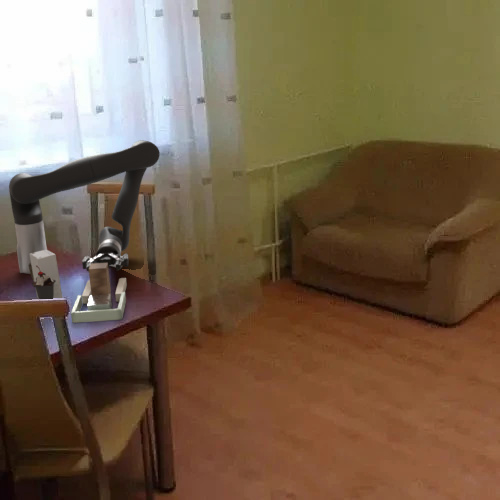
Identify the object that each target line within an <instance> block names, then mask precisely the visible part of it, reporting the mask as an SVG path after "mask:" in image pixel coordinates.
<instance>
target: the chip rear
mask: <svg viewBox="0 0 500 500" xmlns="http://www.w3.org/2000/svg"><path fill="white" fill-rule="evenodd" d="M111 298H112V293H111V294H105V295H91V296H90V297H89V300H102V299H110V304H111V308H112V305H113V304H112V301H111ZM89 300H88V302H89Z"/></svg>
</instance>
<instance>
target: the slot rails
mask: <svg viewBox="0 0 500 500" xmlns="http://www.w3.org/2000/svg"><path fill="white" fill-rule="evenodd" d="M127 285H128V284H127V278H126V277H121V278H119V279H118V283H117V286H116V290H115V294H114V295H115V302H118V303H119V301H120V297H121V293H122V292H125V293H126V289H127ZM91 295H92V294H91V285H90V279H88V280H87V281H86V284H85V287H84V290H83V292H82V294H81V296H82V305H85V304H86V305H88V300H89V297H90V296H91Z"/></svg>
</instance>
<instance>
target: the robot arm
mask: <svg viewBox="0 0 500 500" xmlns="http://www.w3.org/2000/svg"><path fill="white" fill-rule="evenodd" d="M160 155H161V153H160V149H159V147H158V146H157V145H156V144H154V143H153V142H151V141H149V140H141V139H140V140H137V141H135V142H134V143H133V144H132V145H131V146H130V147H127V148H125V149H122V150H119V151H115V152H114V151H113V152H105V153H98V154H97V153H96V154H93V155H88V156H84V157H81V158H77V159H75V160H72V161H69V162H67V163H66V164H64V165H61V166H59V167H58V168H55V169H54V170H52V171H49V172H46V173H41V174H37V175H31V174H28V173H26V172H25V173H24V172H22V173H21V172H20V173H17V174H15V175H14V176H12V177H11V179H10V181H9V185H8V192H9V196H10V197H9V198H10V202H11V203H10V204H11V210H12V216H13V220H14V227H15V234H16V240H17V245H16V253H17V261H18V267H19V268H18V269H19V273H20V274H28V275H31V274H30V270H29V266H28V265H29V263H31V260H30V253H34V252H38V251H42V250H48V248H47V242H46V233H45V225H44V219H43V217H44V216H43V211H42V208H41V203H40V200H42V199H44V198H47V197H49V196H51V195H55V194H58V193H60V192H65V191H66V192H67V191H70V190H74V189H76V188H77V189H78V188H81V187H86V186H88V185H92V184H95V183H98V182H101V181H105V180H108V179H111V178H113V177H115V176H118V175H119V174H122V173H124V178H123V180H122V181H123V182H122V185H121V188H120V190H119V193H118V196H117V199H116V202H115V204H114V207H113V211H112V214H111V219H112V220H113V221H114V222H116V223H118V224H119V225H120V226H121V227H122V230H121V229H118V228H115V227H112V226H105V227H103V228H102V229H100V232H99V235H98V243H99V246H98V248H97V251H96V252H95V253H96V254H95V255H94V256H93V257H90V256H89V255H86V256H84V258H83V259H82V262H81V264H82V269H83V270H86V271H87V272H88V273H89V267H90V265H91V264H94V263H108V269H109V268H113V267H114V268H115V270H116V271H119V270H121V269H122V268H123V266H124V267H125V268H126V267H129V253H123V255H122V252H124V251H126V249H127V248H128V247H129V244H130V232H131V231H130V230H131V223H132V220H133V217H134V214H135V210H136V208H137V204H138V200H139V196H140V195H139V194H140V189H141V185H142V180H143V179H144V176H145V173H146V171H147V169H148V168H151V167H152V166H154V165H156V163H158V160H159V159H160Z"/></svg>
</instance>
